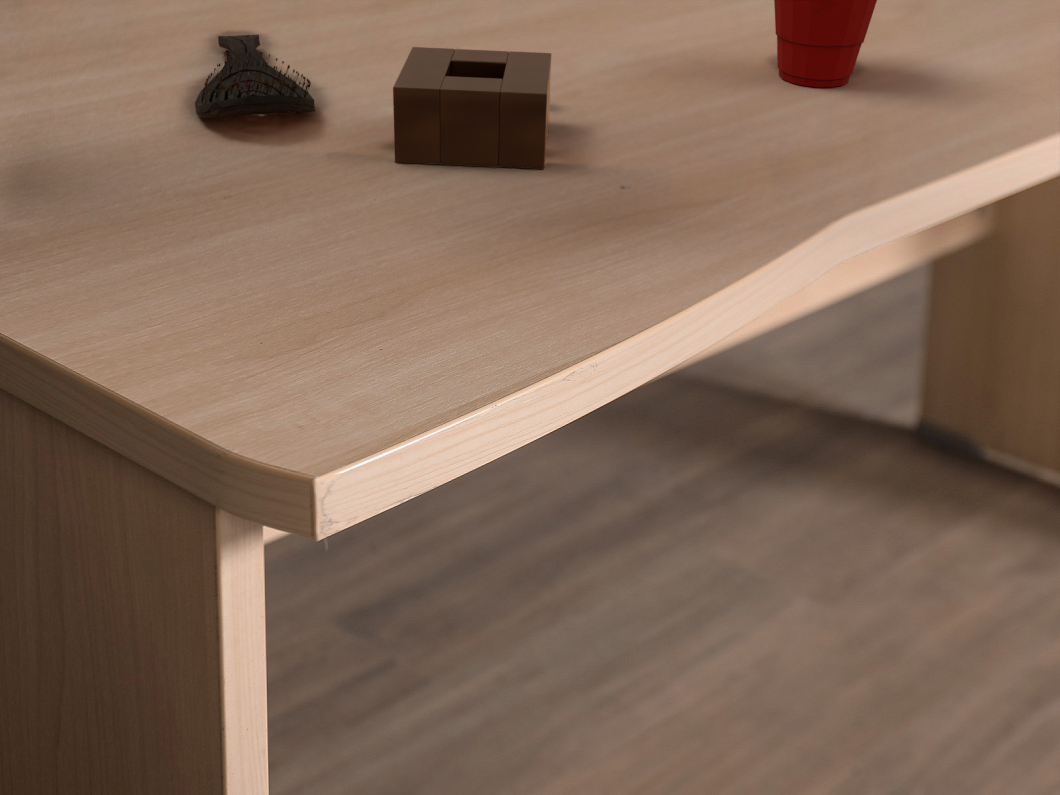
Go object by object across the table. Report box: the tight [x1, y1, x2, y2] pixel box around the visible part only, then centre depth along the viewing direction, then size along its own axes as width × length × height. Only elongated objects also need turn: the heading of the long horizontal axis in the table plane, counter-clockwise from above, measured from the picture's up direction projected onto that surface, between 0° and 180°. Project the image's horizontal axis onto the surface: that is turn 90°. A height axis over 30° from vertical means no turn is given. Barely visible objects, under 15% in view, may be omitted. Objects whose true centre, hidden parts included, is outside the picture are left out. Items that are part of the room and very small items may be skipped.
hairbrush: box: [194, 34, 316, 119], centre depth 92 cm, size 8×4×25 cm
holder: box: [392, 46, 552, 170], centre depth 83 cm, size 10×10×5 cm
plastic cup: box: [773, 0, 878, 88], centre depth 98 cm, size 11×11×12 cm
